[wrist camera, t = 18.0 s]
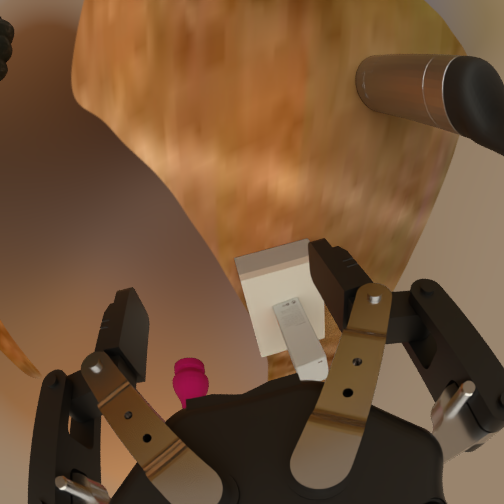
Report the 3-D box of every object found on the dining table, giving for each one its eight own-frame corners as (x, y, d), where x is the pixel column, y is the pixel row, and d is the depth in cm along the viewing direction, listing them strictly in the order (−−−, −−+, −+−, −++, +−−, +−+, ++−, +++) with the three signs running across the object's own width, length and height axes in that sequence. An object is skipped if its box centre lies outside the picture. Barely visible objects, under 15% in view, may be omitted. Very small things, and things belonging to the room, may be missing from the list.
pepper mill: (208, 373, 59) (222, 456, 42) (176, 377, 58) (183, 460, 41) (203, 353, 55) (216, 443, 39) (168, 358, 54) (172, 448, 38)
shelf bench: (307, 238, 46) (322, 258, 41) (313, 316, 56) (324, 337, 51) (234, 258, 45) (240, 281, 40) (254, 333, 55) (261, 357, 50)
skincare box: (271, 305, 44) (295, 367, 34) (297, 296, 44) (327, 355, 34) (279, 330, 47) (302, 388, 37) (303, 321, 47) (330, 377, 37)
